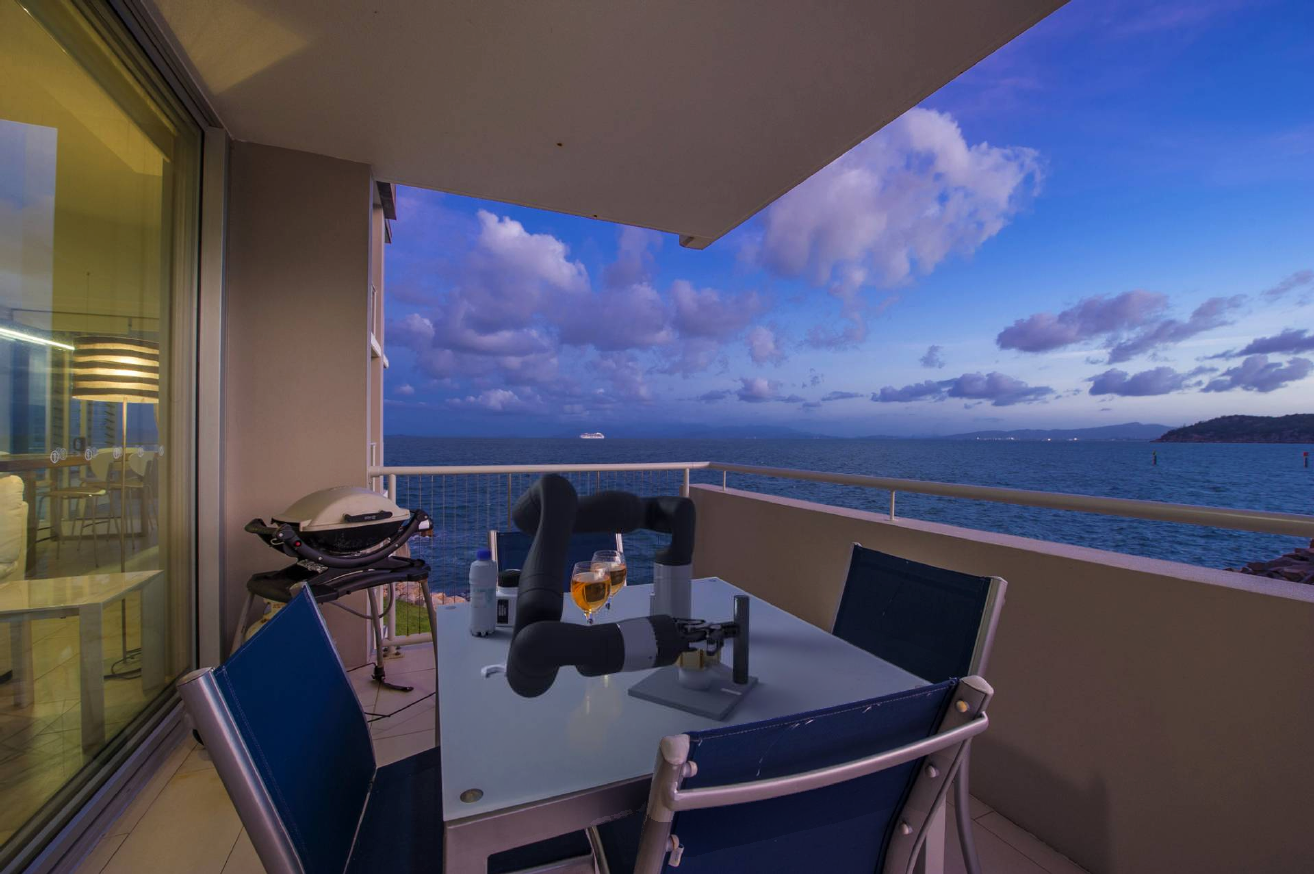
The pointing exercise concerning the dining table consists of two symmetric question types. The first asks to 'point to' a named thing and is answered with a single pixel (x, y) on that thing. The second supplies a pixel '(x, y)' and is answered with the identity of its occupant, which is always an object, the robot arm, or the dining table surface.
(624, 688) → the dining table surface
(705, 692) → the slate plate
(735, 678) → the black bar with brass
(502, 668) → the wrench
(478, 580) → the bottle
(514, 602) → the container
